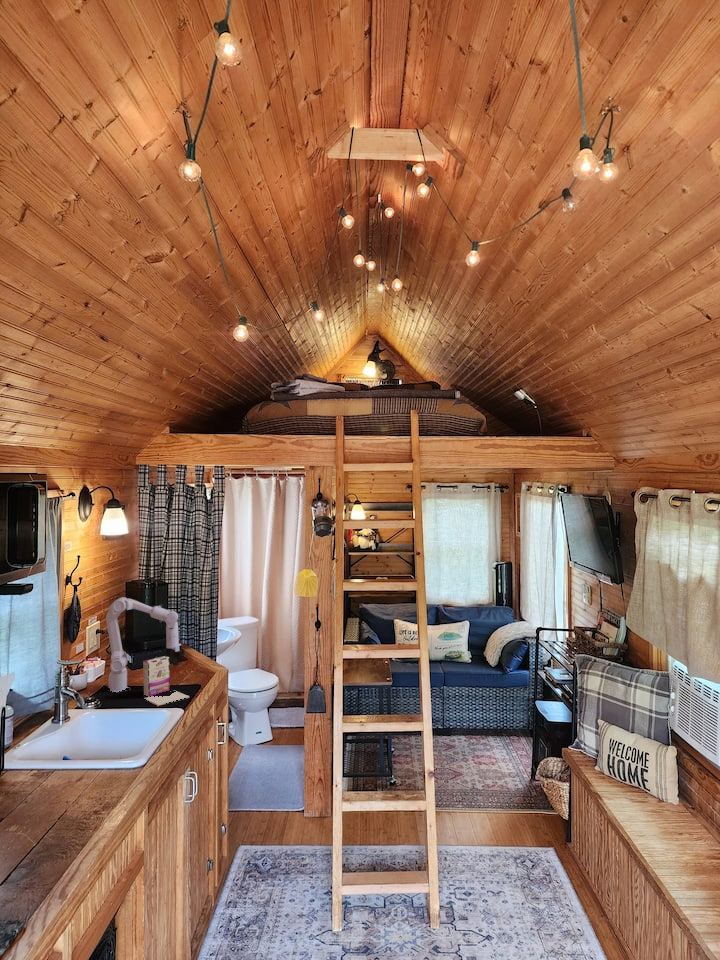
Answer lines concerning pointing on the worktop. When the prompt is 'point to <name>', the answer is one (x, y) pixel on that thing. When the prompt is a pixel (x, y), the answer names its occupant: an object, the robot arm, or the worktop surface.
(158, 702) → the mat
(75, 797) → the worktop surface
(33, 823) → the worktop surface
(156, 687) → the candy bar box
